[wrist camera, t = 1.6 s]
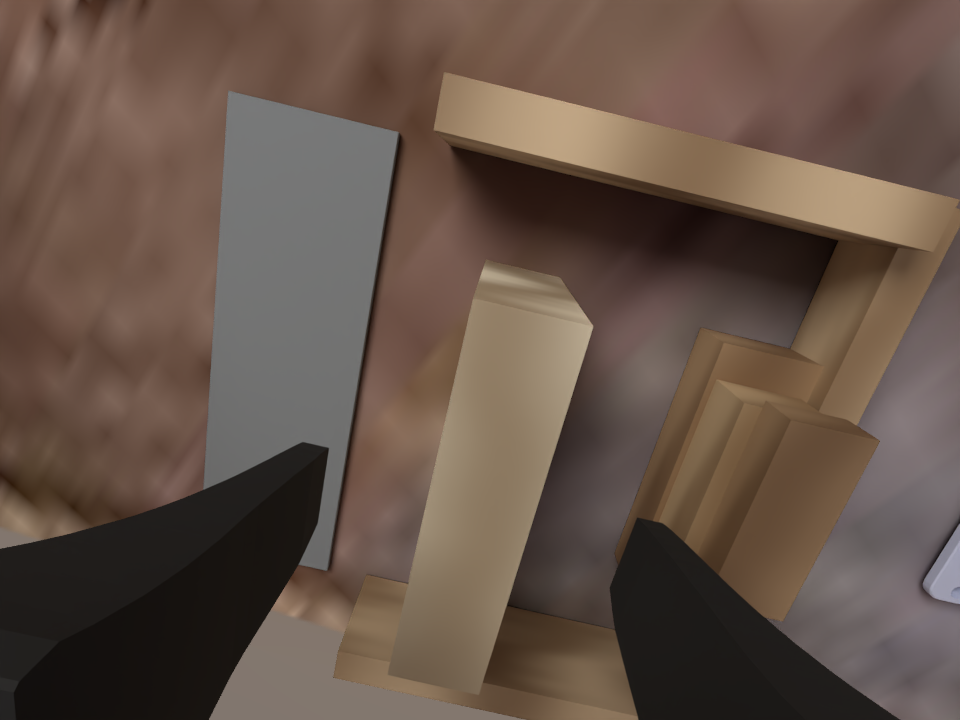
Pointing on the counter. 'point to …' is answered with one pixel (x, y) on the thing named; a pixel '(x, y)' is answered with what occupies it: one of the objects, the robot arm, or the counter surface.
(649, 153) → the rack
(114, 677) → the robot arm
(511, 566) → the wooden block
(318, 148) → the mat
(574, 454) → the counter surface
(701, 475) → the offcuts
